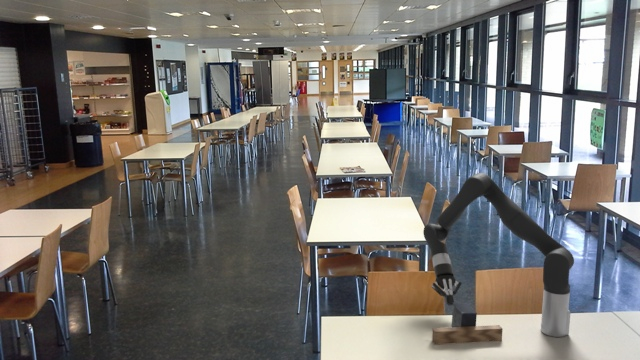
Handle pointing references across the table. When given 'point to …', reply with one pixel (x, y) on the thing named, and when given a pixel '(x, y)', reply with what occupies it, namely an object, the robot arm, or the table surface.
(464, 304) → the small box
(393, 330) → the table surface
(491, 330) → the walnut board
